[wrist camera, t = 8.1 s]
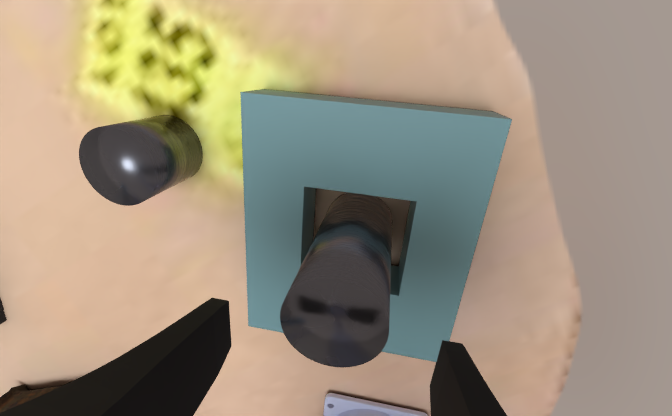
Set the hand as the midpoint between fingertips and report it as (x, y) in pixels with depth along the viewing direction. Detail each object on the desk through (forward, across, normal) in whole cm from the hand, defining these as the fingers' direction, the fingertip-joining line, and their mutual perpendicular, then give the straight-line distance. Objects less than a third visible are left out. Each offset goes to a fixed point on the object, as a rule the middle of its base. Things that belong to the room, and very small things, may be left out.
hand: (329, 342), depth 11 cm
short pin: (+10, +12, -3) cm, 16 cm away
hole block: (+10, 0, 0) cm, 10 cm away
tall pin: (+10, 0, 0) cm, 10 cm away
